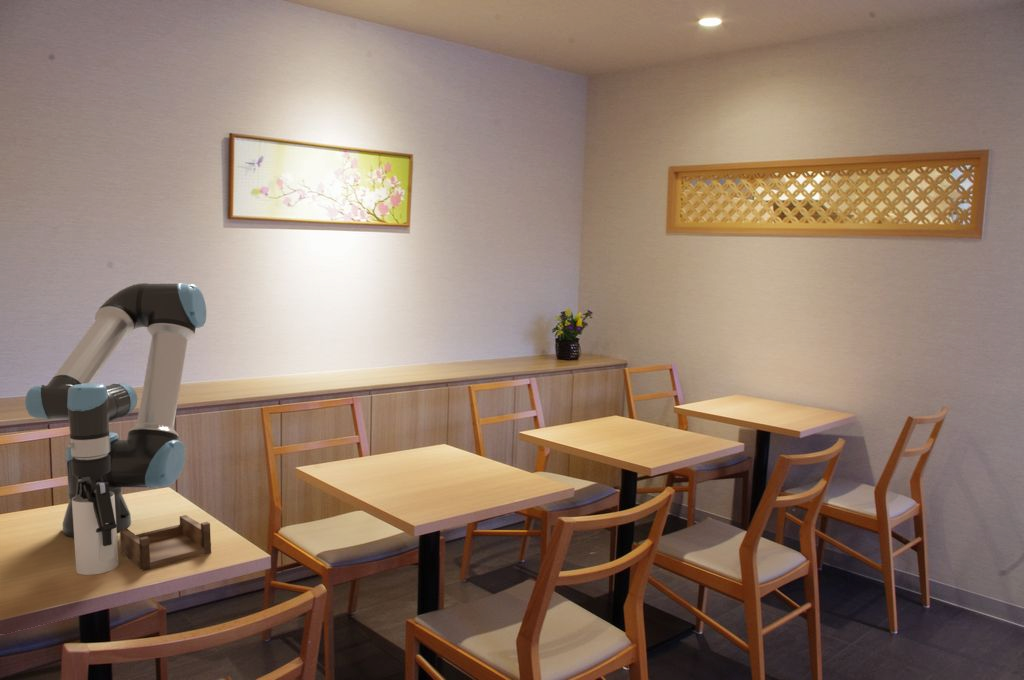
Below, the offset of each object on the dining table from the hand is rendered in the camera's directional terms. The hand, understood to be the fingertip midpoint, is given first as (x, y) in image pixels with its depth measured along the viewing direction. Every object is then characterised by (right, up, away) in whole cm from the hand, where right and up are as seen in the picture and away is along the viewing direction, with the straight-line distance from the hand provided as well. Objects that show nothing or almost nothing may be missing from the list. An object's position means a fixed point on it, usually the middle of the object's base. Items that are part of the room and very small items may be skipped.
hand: (96, 550), depth 174 cm
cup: (0, -4, +1) cm, 4 cm away
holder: (+12, -3, +9) cm, 15 cm away
